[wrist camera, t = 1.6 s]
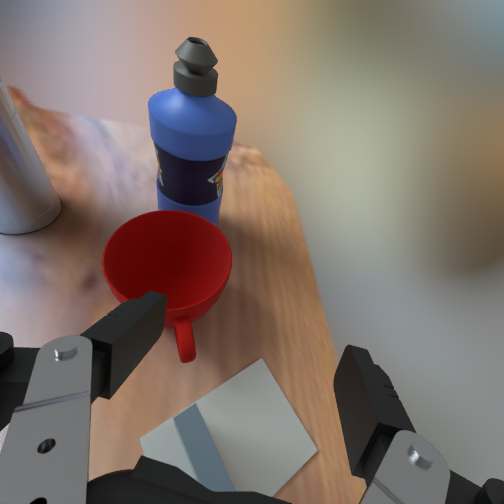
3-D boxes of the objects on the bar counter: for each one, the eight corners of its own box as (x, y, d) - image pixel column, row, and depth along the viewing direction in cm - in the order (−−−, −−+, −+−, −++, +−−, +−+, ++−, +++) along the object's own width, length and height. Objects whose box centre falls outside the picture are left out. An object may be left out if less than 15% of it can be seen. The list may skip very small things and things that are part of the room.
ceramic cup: (124, 395, 27) (102, 376, 19) (118, 263, 36) (101, 213, 28) (240, 361, 32) (260, 334, 24) (209, 252, 40) (216, 205, 32)
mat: (188, 579, 21) (188, 582, 20) (139, 439, 25) (139, 438, 25) (316, 450, 28) (318, 450, 28) (260, 358, 32) (261, 357, 32)
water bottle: (220, 212, 46) (250, 41, 26) (212, 253, 40) (245, 74, 21) (166, 201, 44) (158, 13, 25) (151, 242, 39) (125, 40, 19)
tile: (217, 532, 22) (246, 596, 13) (175, 427, 26) (173, 418, 17) (234, 515, 23) (272, 564, 14) (191, 416, 27) (197, 401, 17)
